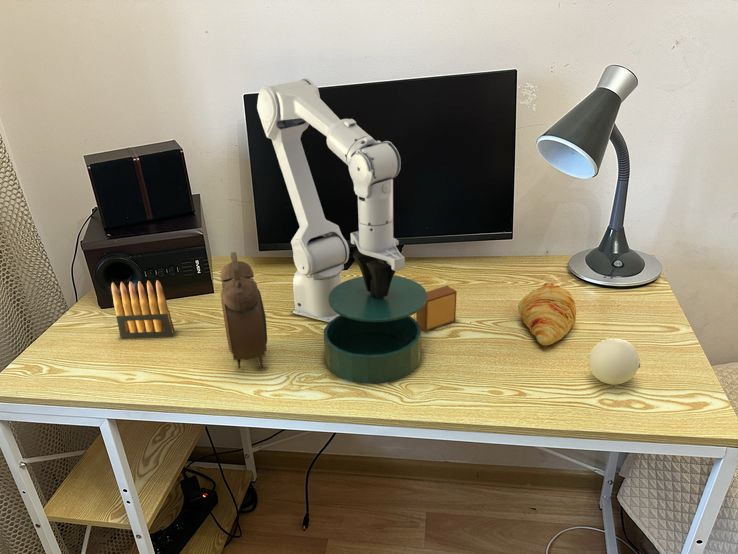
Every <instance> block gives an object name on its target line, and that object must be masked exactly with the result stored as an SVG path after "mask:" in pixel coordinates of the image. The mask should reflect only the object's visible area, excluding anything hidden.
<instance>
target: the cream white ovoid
mask: <svg viewBox="0 0 738 554" xmlns="http://www.w3.org/2000/svg"><path fill="white" fill-rule="evenodd" d="M640 367H641V362H640V355H639V352H638V350H637V349H636V348H635V346H634V345H633V344H631V342H629V341H628V340H624V339H621V338H617V337H616V338H615V337H611V338H605V339H603V340H600V341H599V342H597V343H596V344H595V345H594V346H593V347H592V349H591V350H590V353H589V355H588V368H589V370H590V372H591V374H592V375H593V376H594V378H596V379H597V380H598V381H600V382H601V383H603V384H606V385H613V386H615V385H621V384H624V383H627V382H629V381H630V380H632V378H634V377H635V376H636V374H637V372H638V371H639V370H638V369H640Z"/></svg>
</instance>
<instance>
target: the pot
mask: <svg viewBox="0 0 738 554" xmlns="http://www.w3.org/2000/svg"><path fill="white" fill-rule="evenodd" d="M323 343H324V356H325V363H326V366H327V368H328V369H329V370H330V371H331V372H332V373H333V374H334V375H336V376H338V377H339V378H341V379H344V380H347V381H350V382H353V383H359V384H383V383H384V384H385V383H388V382H393V381H397V380H399V379H402V378H404V377H407V376H409V374H411V373H412V372H414V371H415V370H416V369H417V367H418V366H419V364H420V361H421V356H422V329H421V328H420V326H419V324H418V323H417V322H416V319H415V318H414V317H412V316H408V317H405V318H402V319H398V320H393V321H386V322H364V321H357V320H352V319H349V318H346V317H343V316H341V315H339V316H337V317H336V318H334V319H333V320H332V321H330V322H327V324H326V326H325V327H324V329H323Z"/></svg>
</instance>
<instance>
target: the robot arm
mask: <svg viewBox="0 0 738 554" xmlns="http://www.w3.org/2000/svg"><path fill="white" fill-rule="evenodd" d="M256 103H257V104H256V109H257V112H258V116H259V119H260V122H261V125H262V128H263V131H264V134H265V137H266V138H267V139H270V140H271V142H272V145H273V148H274V151H275V154H276V158H277V160H278V165H279V168H280V170H281V173H282V176H283V179H284V182H285V185H286V189H287V192H288V195H289V198H290V201H291V204H292V208H293V211H294V213H295V216H296V221H297V223H298V226H299V228H298V229H297V231H296V233H295V234H294V236H293V237H292V239H291V241H290V244H291V248H292V254H293V257H292V258H293V263H294V265H295V268H296V269H297V270H296V271H295V273H294V276H293V278H292V279H293V280H292V290H293V301H294V309H293V310H292V313H293V314H294V315H298V316H302V317H306V318H310V319H314V320H318V321H322V322H325V323H329V322H330V321H332V320H333V319H334V318H336V317H337V316H339V314H338V313H336V312H335V311H334V310H333V309H332V308H331V307H330V305H329V299H328V297H329V294H330V292H331V291H332V290H333V289H334V288H335V287H336V286H337V285H339V284H341V283H342V270H344V269H345V265H344V264H346V263H348V261H349V258H350V247H349V243H348V242H347V240H346V238H345V237H344V235H343V234H342V231H341V229H340V226H339V225H338V224H336V223H334V222H332V221H330V220H328V219H326V217H325V214H324V210H323V207H322V204H321V200H320V197H319V195H318V194H319V193H318V191H317V188H316V185H315V182H314V179H313V176H312V172H311V169H310V165H309V163H308V160H307V157H306V154H305V150H304V147H303V144H302V140H301V137H302V135H303V132H304V131H306V130H307V129H308V127H309V126H311V127H312V128H314V129H316V130H317V131H318V132H319V133H321V134H322V135H323V136H325V137H326V145H327V148H328V149H329V150H331V152H332V153H333V154H335V155H336V156H337V157H338V158H339V159H340V160H341V161H342V162H343V163H344V164H346V166H348V172H349V175H350V178H351V180H352V183H353V192H354V194H355V195H356V196H357V214H358V217H357V218H358V230H357V231H353V232H350V243H351V244H352V245H356V247H357V250H358V251H357V252H354V253H353V256H352V257H353V259H354V261H355V262H356V263H357V266H358V267H359V270H360V272H361V276H363V279H364V282H365V286H366V289H367V291H368V292H370V278H371V277H372V280H373V286H374V293H375V296H376V297H377V298H381V297H385V296H387V295H388V292H389V288H390V284H391V281H392V278H393V276H395V274H396V271H399V270H402V269H405V268H406V266H405V265H406V262H405V261H406V257H405V256H403V255H402V254H401V252H400V251H399V249H398V247H397V246H399V244H400V243H399V242H400V241H399V240H398V239H397V238H395V237H394V179H395V178H396V177H397V176H398V175H399V173H400V171H401V165H402V162H401V156H400V153H399V151H398V149H397V148H396V147H395V145H394V144H393V143H392V142H391V141H389V140H385V141H381V140H376V139H374V138H373V137H372V136H371V135H370V134H369V133H367V131H365V130H363V129H362V127H360V126H359V125H358V124H357V121H356V120H355V119H353V118H343V119H340V118H339V117H338V115H337V114H335V113H334V111H333V110H332V109H331V108H330V107H329V106H328V105H327V104H326V103H325V102H324V101H323V100H322V99H321V96H320V91H319V87H318V86H317V85H316V84H314V82H313V81H312V80H310V79H309V78H302V79H300V80H296V81H290V82H284V83H280V84H275V85H264V86H262V87H261V88H260V89H259V93H258V95H257V102H256ZM317 237H320V238H318V239H315V240H312V239H314V238H317ZM310 240H311V241H310Z"/></svg>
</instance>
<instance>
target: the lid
mask: <svg viewBox="0 0 738 554" xmlns="http://www.w3.org/2000/svg"><path fill="white" fill-rule="evenodd" d="M427 292H428V291H427V290H426V289H425V288H424V286H422V284H421V283H418V282H417V281H415V280H412V279H411V278H407V277H405V276H404V277H403V276H399V275H393V278H392V281H391V284H390V288H389V292H388V295H387V296H385V297H381V298H377V297H376V296H375V293H374V286H373V280H372V277H371V278H370V292H368V291H367V289H366V286H365V282H364V279H363V275H361V276H356V277H354V278H353V277H352V278H350V279H347V280H345V281H343V282H341V284H339V285H337V286H336V287H335V288H334V289H333V290H332V291H331V292H330V294H329V297H328V299H329V305H330V307H331V308H332V309H333V310H334V311H335V312H336V313H338V314H339V315H341V316H343V317H346V318H349V319H352V320H357V321H364V322H386V321H393V320H398V319H402V318H405V317H408V316H410V317H412V315H416V312H418V311H419V310H421V309H422V308H423V307H424V306H425V304H426V302H427Z"/></svg>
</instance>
